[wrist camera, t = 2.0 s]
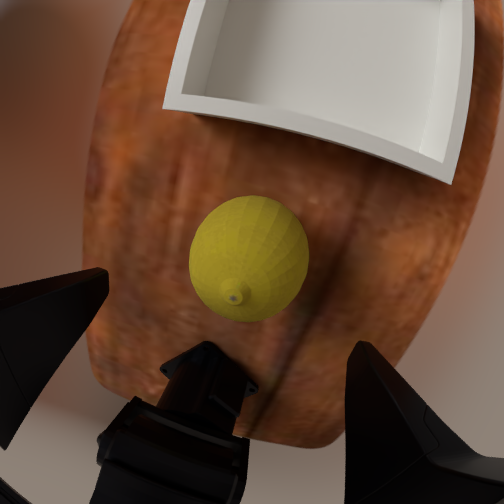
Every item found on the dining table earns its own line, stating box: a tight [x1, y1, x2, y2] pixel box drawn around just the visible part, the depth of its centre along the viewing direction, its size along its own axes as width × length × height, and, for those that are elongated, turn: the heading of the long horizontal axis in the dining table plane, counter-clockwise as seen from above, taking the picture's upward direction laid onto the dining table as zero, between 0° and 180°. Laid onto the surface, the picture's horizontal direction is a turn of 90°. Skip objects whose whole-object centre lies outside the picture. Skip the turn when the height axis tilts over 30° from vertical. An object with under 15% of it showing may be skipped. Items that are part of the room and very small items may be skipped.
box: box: [163, 0, 474, 185], centre depth 10 cm, size 14×14×4 cm
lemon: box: [189, 195, 309, 322], centre depth 14 cm, size 6×6×8 cm
